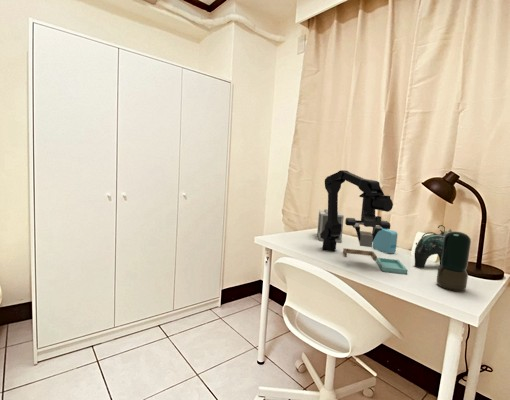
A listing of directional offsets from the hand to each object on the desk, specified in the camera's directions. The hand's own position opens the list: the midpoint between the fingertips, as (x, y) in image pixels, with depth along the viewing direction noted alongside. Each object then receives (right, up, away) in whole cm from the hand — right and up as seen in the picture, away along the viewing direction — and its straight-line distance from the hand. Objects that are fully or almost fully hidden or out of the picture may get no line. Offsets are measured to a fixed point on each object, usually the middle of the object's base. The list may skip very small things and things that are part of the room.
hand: (365, 241), depth 131 cm
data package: (+20, -9, +26) cm, 34 cm away
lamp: (+25, -15, -21) cm, 36 cm away
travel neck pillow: (+34, -13, +3) cm, 36 cm away
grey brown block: (0, -1, 0) cm, 1 cm away
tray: (+11, -12, -1) cm, 16 cm away
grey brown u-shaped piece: (+2, -10, +14) cm, 17 cm away
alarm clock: (-4, -5, +48) cm, 48 cm away
